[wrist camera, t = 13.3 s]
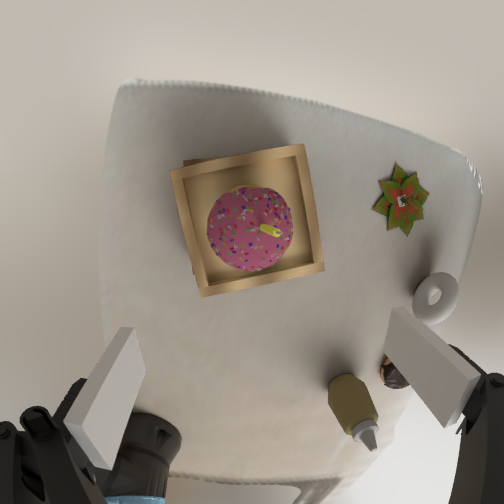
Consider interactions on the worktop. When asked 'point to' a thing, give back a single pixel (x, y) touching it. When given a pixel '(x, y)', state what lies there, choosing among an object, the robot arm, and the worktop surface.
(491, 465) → the robot arm
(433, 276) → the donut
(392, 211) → the lily flower
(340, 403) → the squeeze bottle
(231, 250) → the cupcake
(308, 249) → the tower top
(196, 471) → the worktop surface
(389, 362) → the donut
